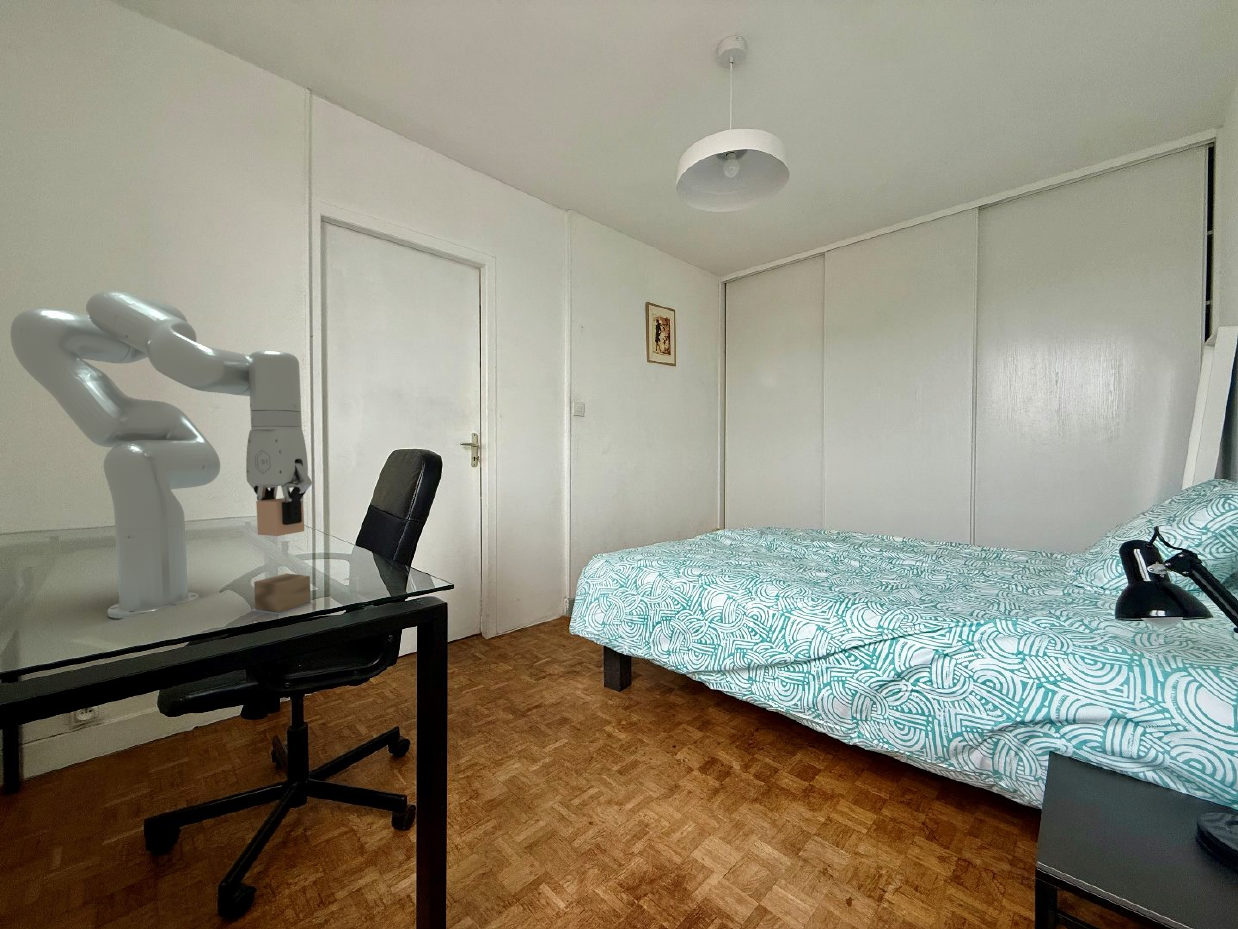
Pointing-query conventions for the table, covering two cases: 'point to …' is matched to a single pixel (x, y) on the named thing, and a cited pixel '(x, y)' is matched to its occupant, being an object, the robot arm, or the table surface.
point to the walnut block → (282, 592)
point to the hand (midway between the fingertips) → (281, 522)
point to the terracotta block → (275, 518)
